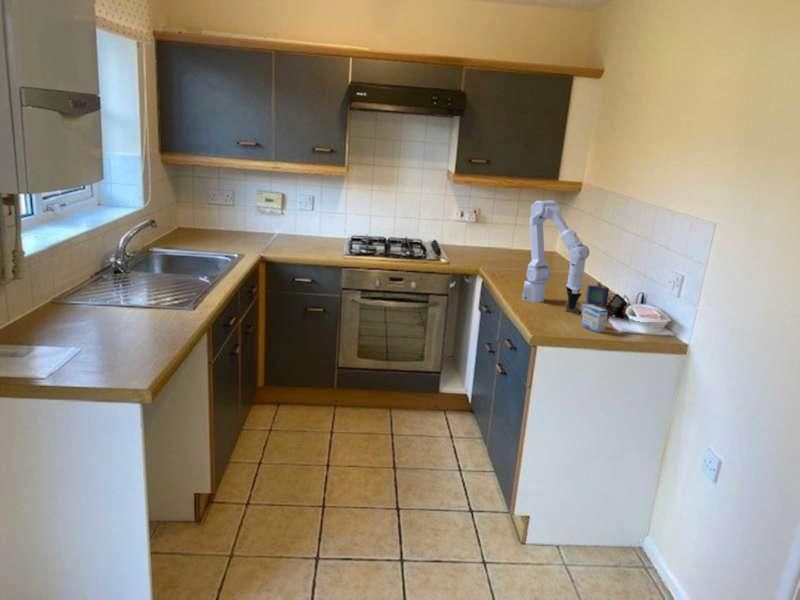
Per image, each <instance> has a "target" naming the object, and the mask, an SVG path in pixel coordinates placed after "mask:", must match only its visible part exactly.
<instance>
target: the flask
mask: <svg viewBox="0 0 800 600" xmlns="http://www.w3.org/2000/svg"><path fill="white" fill-rule="evenodd" d="M609 292H610V288H609V287H608V286H605V285H602V284H601V281H599V282H596V285H595V284H588V285H587V287H586V293H585V294H586V295H585V300H584V304H593V305H594V306H599V307H607V306H606V304H608V299H609Z"/></svg>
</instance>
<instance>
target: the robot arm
mask: <svg viewBox="0 0 800 600" xmlns="http://www.w3.org/2000/svg"><path fill="white" fill-rule="evenodd" d="M547 219H548V220H551V221H552V223H553V224H554V225H555V227H556V228H557V230H558V231H559V232H560V234H561V236H560V238H561V240H562V242H563V244H564V245H565V246H566V248H567V250H568V254H567V255H568V257H569V270H568V275H567V284H566V287H565V288H566V294H567V297H568V298H569V309H575V307H577V304H578V301H579V299H580V297H581V296H582V293H580V291H581V289H585V285H583V278H584V274H585V273H584V272H585V265H586V259H588V257H589V256H590V249H589V246H587V245H586V244H584V243H583V242H582V241H581V239H580V238H579V237H578V235H577V232H576V231H575V230H573V229H570V228H569V226H568V225H567V222H566V221H565V218H564V217H563V215H562V213H561V212H560V206H559V205H558V203H557V202H556V201H555V200H552V199H551V200H536V201H534V203H532V205H531V206H530V217H529V235H530V236H529V237H530V252H531V253H530V254H531V261H530V262H529V263H528V264H527V269H526V270H527V271H526V278H527V280H524V284H523V292H522V294H521V295H522V296H521V297H522V301H527V302H533V303H543V302H544V301H545V295H546V294H545V293H546V286H547V282H548V280H549V279H550V278H551V275H552V273H551V272H552V271H551V268H550V267H549V265H550V264H549V263H548V261H547V260H546V259H545V257H546V256H545V241H544V238H545V237H544V222H545V221H546V220H547Z"/></svg>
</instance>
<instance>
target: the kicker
mask: <svg viewBox="0 0 800 600" xmlns="http://www.w3.org/2000/svg"><path fill="white" fill-rule="evenodd" d="M565 312H567V313H572V314H575V315H576V314H577V315H579V313H580V307H579V306H576V307H575V309H569V298H568V296H567V299H566V305H565Z"/></svg>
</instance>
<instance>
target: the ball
mask: <svg viewBox="0 0 800 600" xmlns="http://www.w3.org/2000/svg"><path fill="white" fill-rule="evenodd" d="M587 304H588V303H584V304H582V305H581V304H580V305H581V306H579V312H580V313H582V309H584V307H585V306H586V305H587Z"/></svg>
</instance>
